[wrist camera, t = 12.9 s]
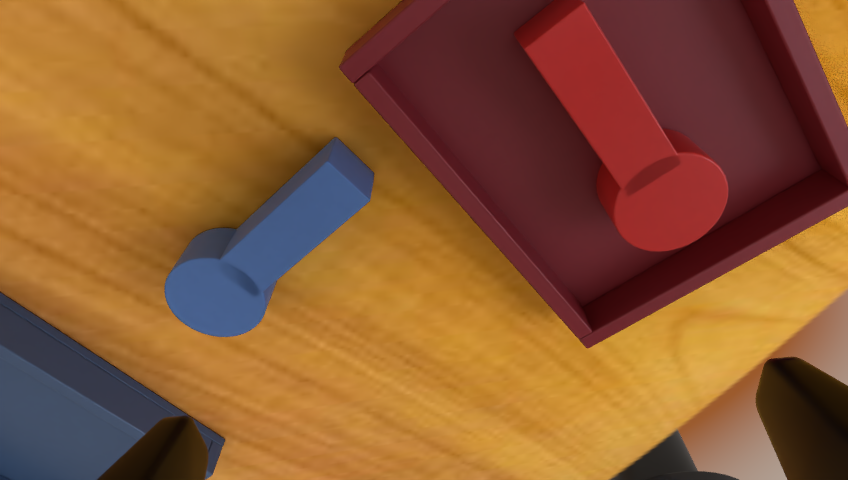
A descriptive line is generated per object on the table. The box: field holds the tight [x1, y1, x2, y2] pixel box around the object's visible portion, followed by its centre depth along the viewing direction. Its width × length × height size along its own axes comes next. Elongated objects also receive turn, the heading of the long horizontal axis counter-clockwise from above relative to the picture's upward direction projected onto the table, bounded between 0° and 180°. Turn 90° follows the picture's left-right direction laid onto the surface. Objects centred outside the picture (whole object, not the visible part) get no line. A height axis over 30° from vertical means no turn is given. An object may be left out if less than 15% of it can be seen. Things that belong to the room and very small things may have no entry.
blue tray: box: [0, 293, 225, 480], centre depth 24 cm, size 13×10×2 cm
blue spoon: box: [165, 137, 374, 337], centre depth 19 cm, size 8×3×2 cm, turn 132°
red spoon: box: [514, 0, 728, 252], centre depth 17 cm, size 8×3×2 cm, turn 39°
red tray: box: [339, 0, 848, 348], centre depth 17 cm, size 13×10×2 cm
